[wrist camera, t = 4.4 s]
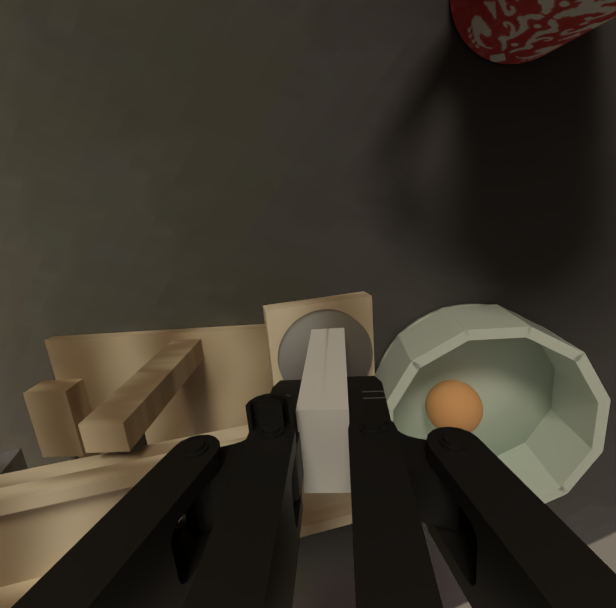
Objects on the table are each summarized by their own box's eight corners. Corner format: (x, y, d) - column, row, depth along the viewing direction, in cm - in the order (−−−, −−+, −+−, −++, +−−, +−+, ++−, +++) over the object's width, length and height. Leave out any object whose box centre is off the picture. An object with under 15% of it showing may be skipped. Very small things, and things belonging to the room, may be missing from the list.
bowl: (377, 466, 28) (385, 518, 23) (371, 309, 25) (379, 334, 20) (548, 461, 27) (593, 515, 22) (566, 297, 24) (622, 321, 19)
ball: (478, 418, 25) (425, 413, 26) (480, 372, 24) (425, 369, 25) (485, 450, 22) (424, 443, 23) (487, 399, 21) (424, 394, 22)
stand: (77, 467, 30) (-55, 608, 20) (39, 337, 27) (-140, 422, 17) (291, 461, 28) (268, 609, 18) (275, 323, 25) (238, 407, 15)
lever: (-78, 560, 20) (-196, 702, 14) (-175, 348, 17) (-378, 422, 11) (354, 460, 25) (396, 536, 19) (344, 280, 21) (390, 306, 16)
